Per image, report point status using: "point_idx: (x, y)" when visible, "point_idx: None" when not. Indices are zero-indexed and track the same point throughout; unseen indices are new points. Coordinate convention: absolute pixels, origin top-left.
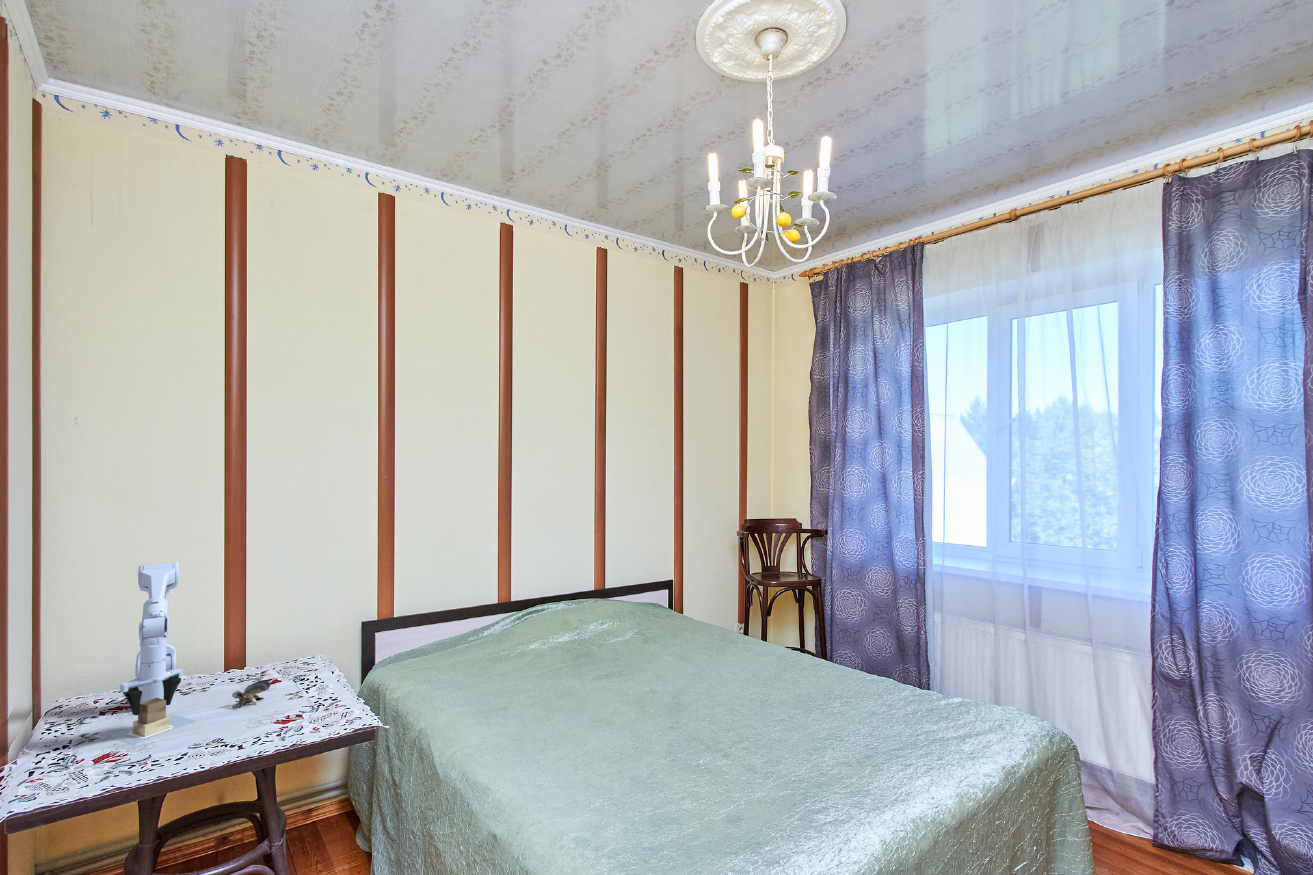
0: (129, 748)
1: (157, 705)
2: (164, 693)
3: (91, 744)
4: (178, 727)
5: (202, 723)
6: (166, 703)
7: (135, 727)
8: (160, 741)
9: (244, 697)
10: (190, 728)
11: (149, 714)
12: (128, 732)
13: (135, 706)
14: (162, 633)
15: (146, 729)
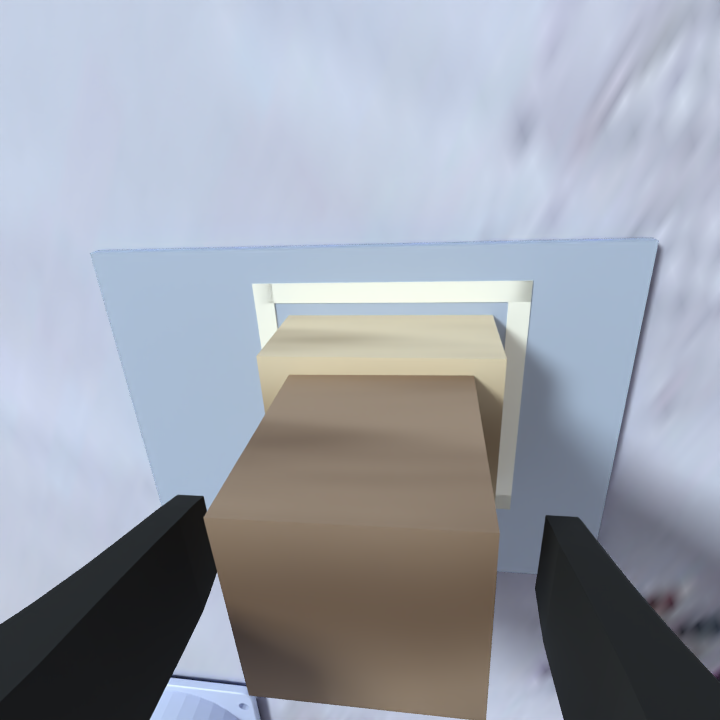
0: (712, 180)
1: (346, 489)
2: (146, 702)
3: (717, 548)
4: (239, 251)
5: (69, 174)
6: (201, 536)
7: None
8: (480, 66)
9: None
10: (174, 150)
11: (460, 432)
12: None
13: (672, 635)
14: None
15: (485, 339)
